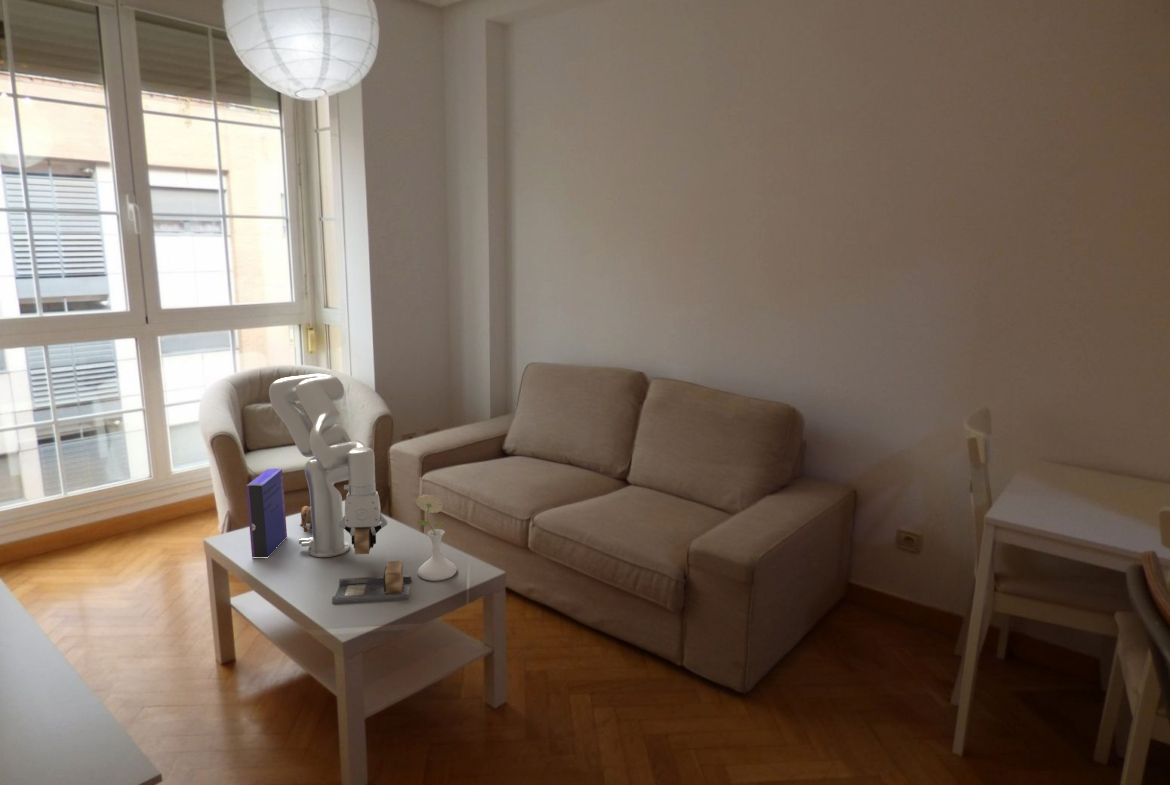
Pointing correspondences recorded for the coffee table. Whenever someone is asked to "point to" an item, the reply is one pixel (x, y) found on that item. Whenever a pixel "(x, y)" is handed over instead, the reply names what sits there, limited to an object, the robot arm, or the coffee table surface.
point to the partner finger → (393, 577)
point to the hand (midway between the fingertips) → (364, 545)
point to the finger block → (362, 540)
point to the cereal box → (266, 512)
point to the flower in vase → (434, 544)
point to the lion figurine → (306, 517)
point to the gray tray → (368, 590)
